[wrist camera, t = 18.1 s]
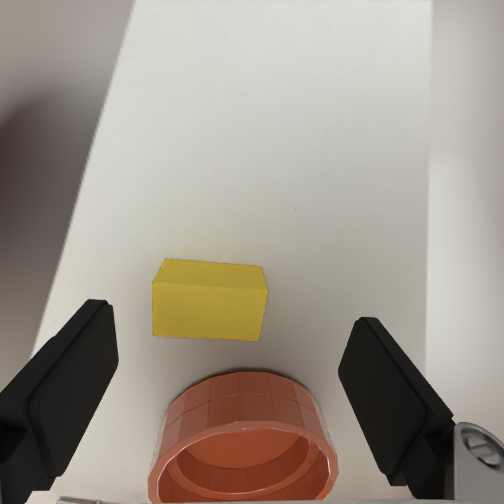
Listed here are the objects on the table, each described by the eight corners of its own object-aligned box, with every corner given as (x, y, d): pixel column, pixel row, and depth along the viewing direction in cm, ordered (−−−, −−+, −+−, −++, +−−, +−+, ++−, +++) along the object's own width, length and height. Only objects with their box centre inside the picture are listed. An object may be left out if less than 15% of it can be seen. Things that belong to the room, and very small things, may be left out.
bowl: (335, 368, 24) (360, 421, 19) (302, 470, 30) (315, 529, 25) (162, 363, 22) (144, 421, 17) (162, 474, 28) (149, 539, 23)
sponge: (165, 258, 18) (152, 281, 15) (261, 266, 19) (268, 290, 16) (164, 305, 20) (152, 336, 17) (254, 310, 21) (259, 341, 18)
